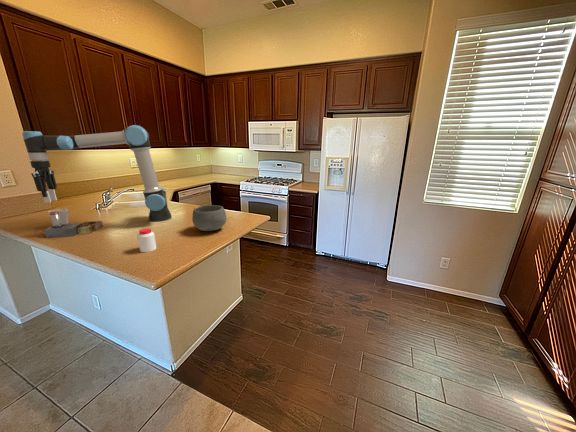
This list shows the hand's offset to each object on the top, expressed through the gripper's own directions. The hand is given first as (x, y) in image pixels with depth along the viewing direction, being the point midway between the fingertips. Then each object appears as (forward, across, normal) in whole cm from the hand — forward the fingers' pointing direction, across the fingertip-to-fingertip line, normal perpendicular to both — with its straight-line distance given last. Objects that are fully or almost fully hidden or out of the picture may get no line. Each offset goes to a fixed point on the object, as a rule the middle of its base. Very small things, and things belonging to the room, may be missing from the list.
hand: (51, 201), depth 139 cm
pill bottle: (+21, +33, +59) cm, 71 cm away
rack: (+21, -7, +13) cm, 25 cm away
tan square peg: (+21, 0, +11) cm, 23 cm away
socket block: (+21, 0, +3) cm, 21 cm away
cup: (+21, -16, -8) cm, 28 cm away
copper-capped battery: (+21, 0, 0) cm, 21 cm away
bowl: (+21, +8, +89) cm, 92 cm away
